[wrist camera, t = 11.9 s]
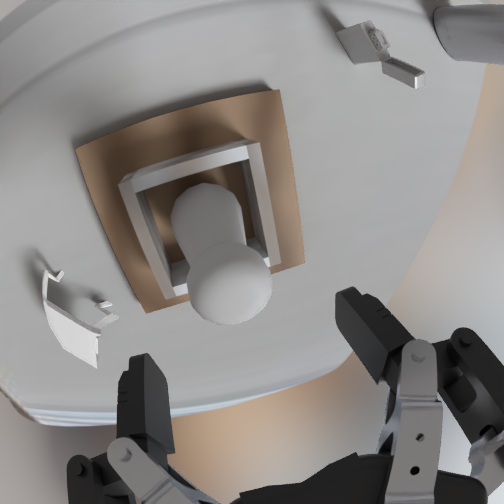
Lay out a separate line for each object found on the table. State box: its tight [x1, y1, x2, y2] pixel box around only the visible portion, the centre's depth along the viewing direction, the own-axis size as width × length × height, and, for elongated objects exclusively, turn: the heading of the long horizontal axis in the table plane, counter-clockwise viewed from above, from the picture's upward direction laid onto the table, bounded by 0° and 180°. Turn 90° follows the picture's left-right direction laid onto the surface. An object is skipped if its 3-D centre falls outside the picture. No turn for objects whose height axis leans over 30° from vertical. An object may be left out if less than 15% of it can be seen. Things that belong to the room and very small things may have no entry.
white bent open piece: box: [42, 269, 119, 369], centre depth 24 cm, size 12×8×5 cm
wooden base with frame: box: [75, 89, 305, 313], centre depth 23 cm, size 18×18×6 cm
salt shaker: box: [170, 183, 272, 324], centre depth 18 cm, size 6×6×13 cm
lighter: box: [336, 21, 425, 89], centre depth 18 cm, size 7×2×8 cm, turn 34°
